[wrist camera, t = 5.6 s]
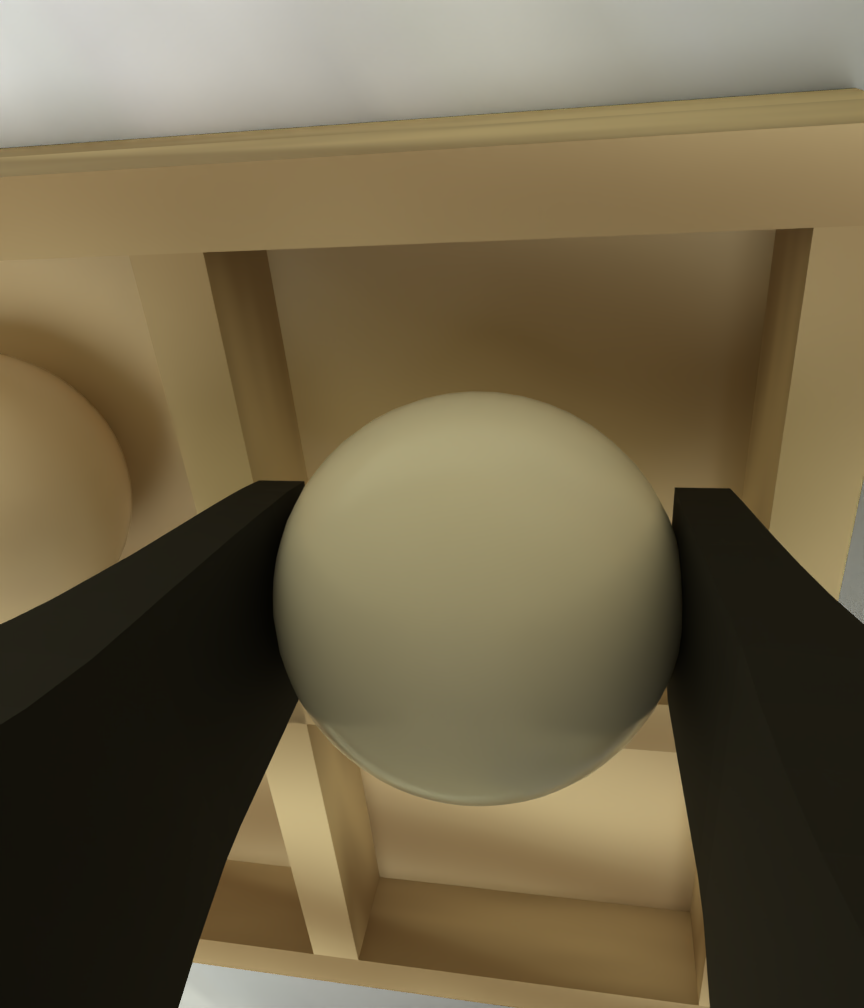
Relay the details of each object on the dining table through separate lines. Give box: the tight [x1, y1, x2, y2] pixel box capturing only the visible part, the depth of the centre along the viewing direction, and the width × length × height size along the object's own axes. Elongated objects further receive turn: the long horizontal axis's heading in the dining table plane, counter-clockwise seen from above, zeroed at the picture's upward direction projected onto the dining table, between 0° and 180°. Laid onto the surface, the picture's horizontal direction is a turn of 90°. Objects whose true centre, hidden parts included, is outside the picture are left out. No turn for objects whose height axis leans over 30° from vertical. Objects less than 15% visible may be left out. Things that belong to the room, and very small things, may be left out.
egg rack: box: [0, 88, 864, 1008], centre depth 15 cm, size 17×17×3 cm
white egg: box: [273, 391, 682, 806], centre depth 10 cm, size 5×5×5 cm
